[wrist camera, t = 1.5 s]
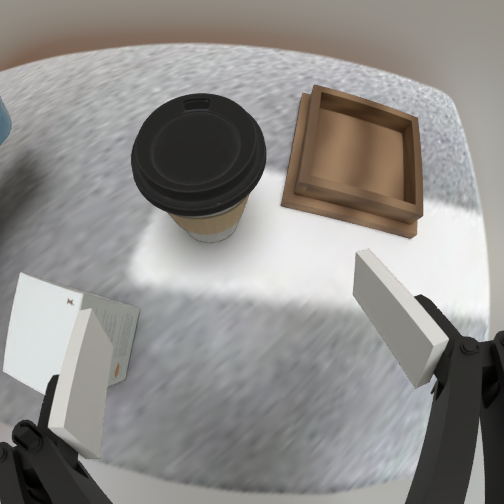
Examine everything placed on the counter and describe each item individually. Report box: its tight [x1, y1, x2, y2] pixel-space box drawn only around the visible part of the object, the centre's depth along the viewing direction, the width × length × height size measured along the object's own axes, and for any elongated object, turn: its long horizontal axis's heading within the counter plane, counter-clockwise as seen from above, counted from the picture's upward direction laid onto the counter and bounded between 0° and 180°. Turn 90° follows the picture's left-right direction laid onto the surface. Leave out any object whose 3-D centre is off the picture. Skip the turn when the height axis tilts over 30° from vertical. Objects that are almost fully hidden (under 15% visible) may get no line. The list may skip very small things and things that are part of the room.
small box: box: [3, 272, 140, 395], centre depth 23 cm, size 8×6×13 cm
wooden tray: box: [281, 85, 423, 239], centre depth 34 cm, size 16×16×4 cm
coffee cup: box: [131, 93, 266, 243], centre depth 26 cm, size 9×9×15 cm
